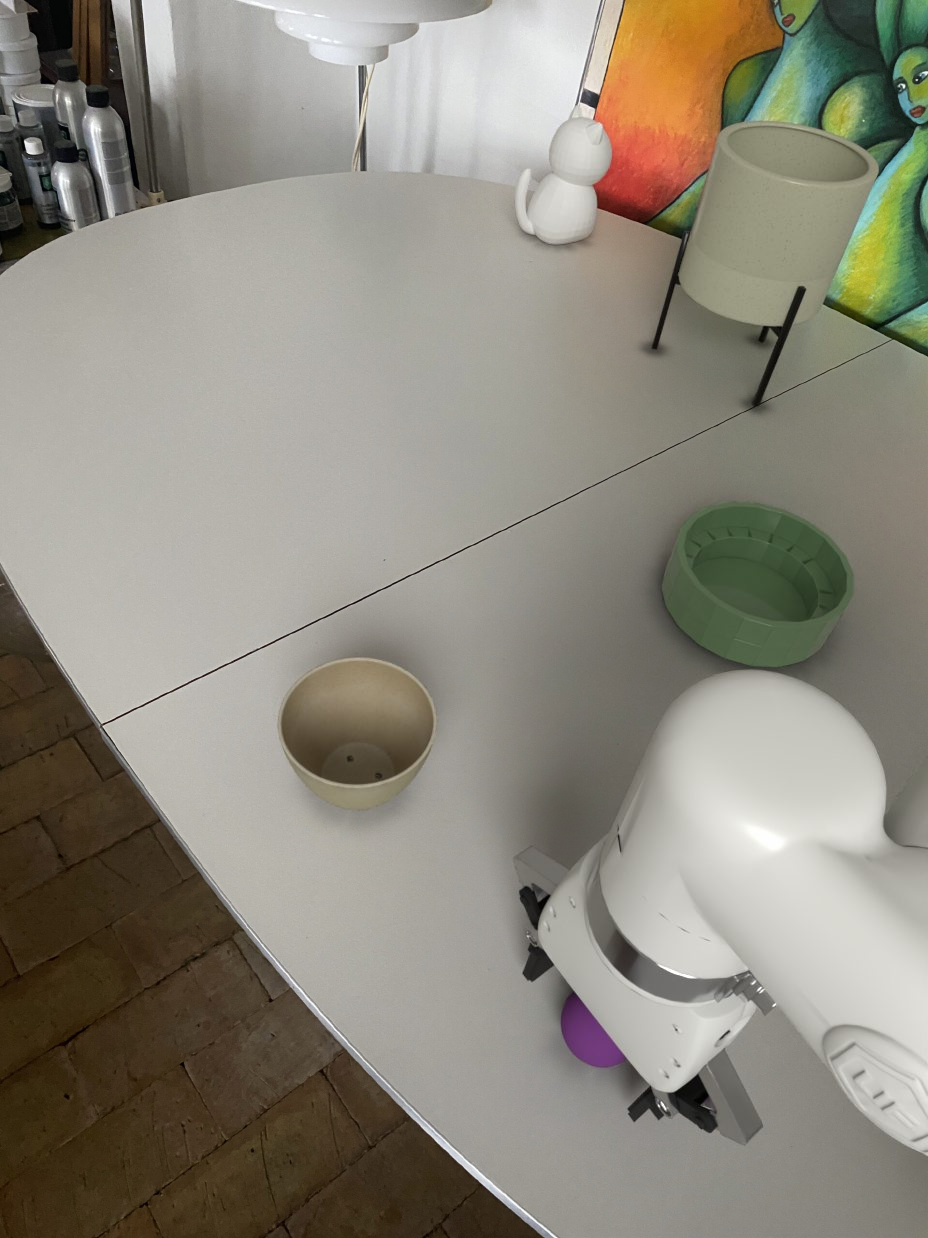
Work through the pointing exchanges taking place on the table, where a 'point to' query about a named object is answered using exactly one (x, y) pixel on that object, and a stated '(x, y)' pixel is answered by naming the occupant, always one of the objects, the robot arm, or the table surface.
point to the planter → (772, 226)
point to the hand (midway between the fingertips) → (595, 1028)
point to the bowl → (756, 583)
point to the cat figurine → (566, 183)
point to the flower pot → (357, 730)
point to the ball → (587, 1035)
